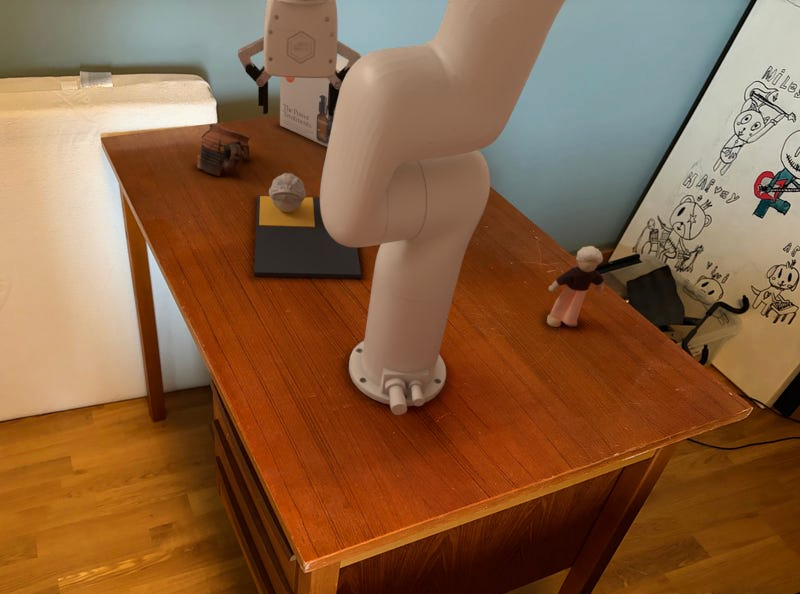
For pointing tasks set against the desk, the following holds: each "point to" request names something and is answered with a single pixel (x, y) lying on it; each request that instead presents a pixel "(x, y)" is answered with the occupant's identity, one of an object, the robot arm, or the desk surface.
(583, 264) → the grandmother figurine
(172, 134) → the desk surface
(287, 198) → the carved stone head
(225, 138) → the pottery mug
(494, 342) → the desk surface
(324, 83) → the white product box
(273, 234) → the desk mat
